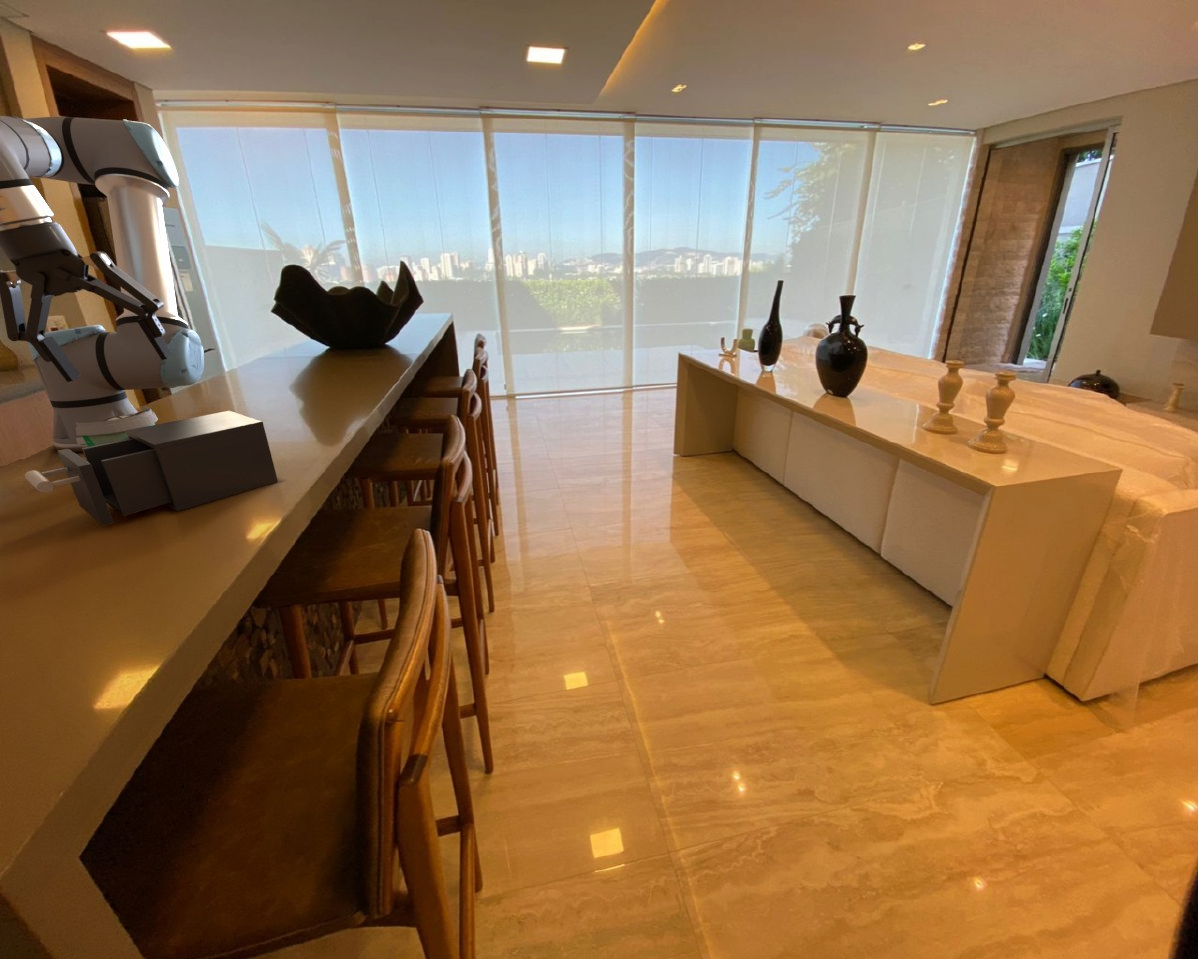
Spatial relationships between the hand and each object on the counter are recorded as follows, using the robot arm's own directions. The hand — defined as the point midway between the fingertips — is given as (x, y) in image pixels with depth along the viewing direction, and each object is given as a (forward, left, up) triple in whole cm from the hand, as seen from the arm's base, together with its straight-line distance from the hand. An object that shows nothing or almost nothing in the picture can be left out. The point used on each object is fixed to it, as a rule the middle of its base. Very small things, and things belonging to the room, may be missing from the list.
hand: (121, 368), depth 85 cm
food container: (-7, -3, -19) cm, 21 cm away
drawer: (+15, -1, -18) cm, 24 cm away
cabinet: (+11, +9, -19) cm, 24 cm away
